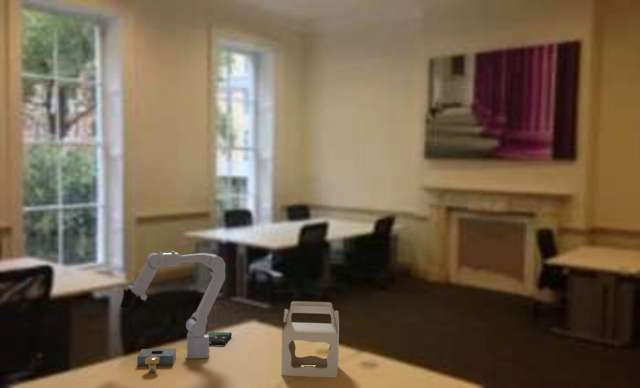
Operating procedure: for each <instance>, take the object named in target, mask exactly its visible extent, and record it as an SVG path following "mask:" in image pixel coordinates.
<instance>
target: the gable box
mask: <svg viewBox="0 0 640 388" xmlns="http://www.w3.org/2000/svg"><path fill="white" fill-rule="evenodd" d="M292 314H321V315H322V314H324V315H330V319H331V322H329V323H328V322H306V321H305V322H304V321H303V322H302V321H301V322H297V321H292ZM339 333H340V318H339V309H338V310H335V309H334V307H333V303H332V302H331V301H305V300H304V301H303V300H302V301H300V300H292V301H291V302H290V307H289V309H288V308H284V311H283V327H282V331H281V376H284V377H286V376H288V377H312V378H313V377H314V378H333V379H336V378H338V373H339V353H340V352H339V347H340V346H339V345H340V343H339V342H340V341H339V340H340V334H339ZM295 341H302V342H303V341H304V342H308V343H309V342H310V343H318V342H322V343H323V342H325V343H328V344H329V348H328V354H327V358H322V357H321V356H320V357H319V356H315V355H306V356H301V357H300V356H299V357H298V356H297V355H296V343H295ZM301 365H316V366H315V367H313V366H304V367H301Z"/></svg>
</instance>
